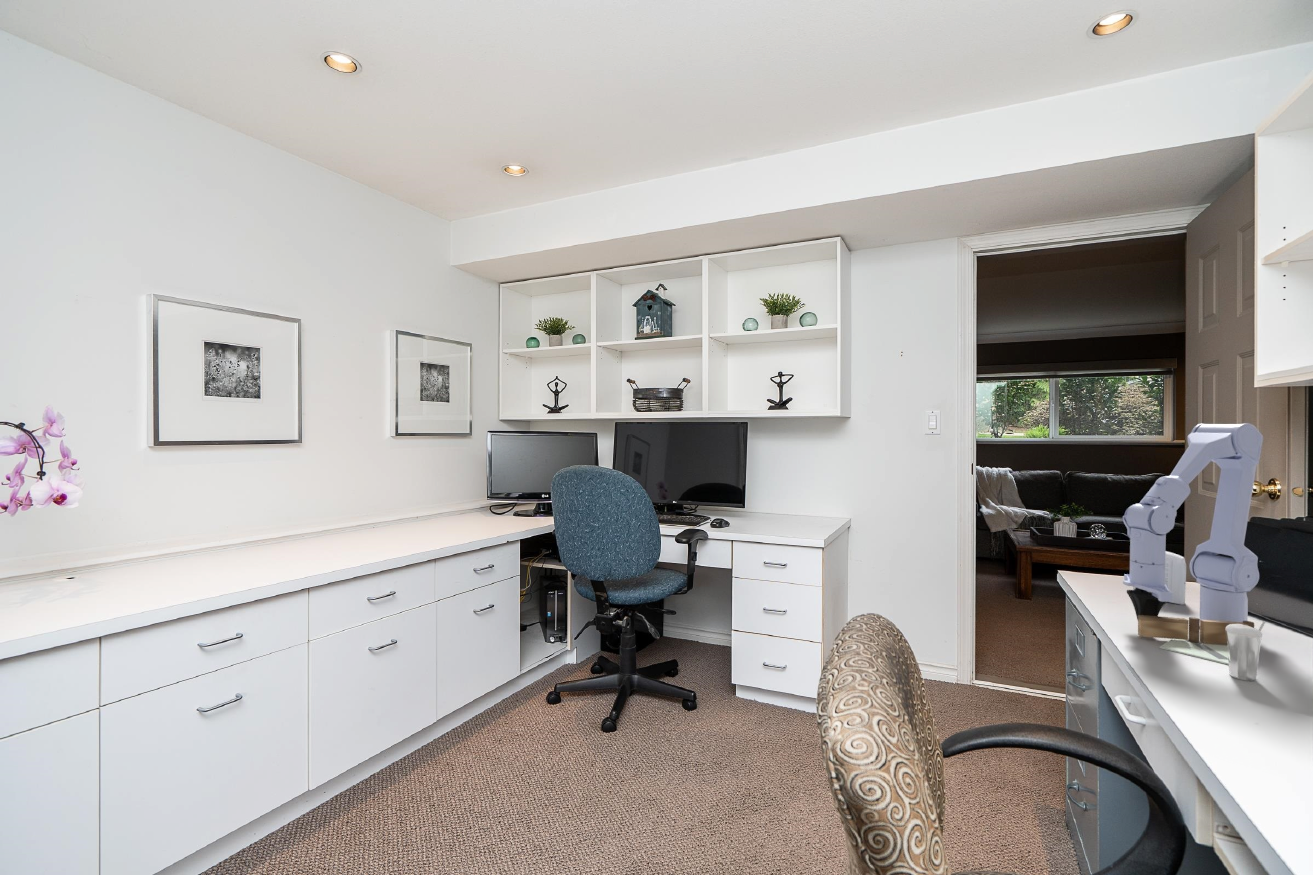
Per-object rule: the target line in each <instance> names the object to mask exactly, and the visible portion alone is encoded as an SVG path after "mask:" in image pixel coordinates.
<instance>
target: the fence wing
mask: <svg viewBox="0 0 1313 875" xmlns="http://www.w3.org/2000/svg"><path fill="white" fill-rule="evenodd" d="M1188 632H1189V619H1187V618H1185V617H1174V616H1160V615H1158V616H1145V615H1138V620H1137V635H1138V636H1140V637H1144V638H1145V637H1146V638H1158V639H1170V640H1171V639H1181V640H1188Z"/></svg>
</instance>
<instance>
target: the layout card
mask: <svg viewBox="0 0 1313 875" xmlns="http://www.w3.org/2000/svg"><path fill="white" fill-rule="evenodd" d="M1188 638H1189V631H1188ZM1159 649H1161V650H1162V649H1163V650H1167V651H1170V652H1175V653H1179V654H1182V655H1187V656H1191V657H1193V658H1194V657H1195V658H1199V659H1204V660H1207V661H1211V662H1214V663H1215V662H1216V663H1219V664H1224V665H1228V666H1229V662H1228V649H1227V645H1220V644H1207V643H1202V642H1200V633H1199V643H1193V642H1190V641H1188V640H1181V639H1170V640H1168V641H1166V642H1165V643H1163V644H1162V645H1160V646H1159Z"/></svg>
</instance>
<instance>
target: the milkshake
mask: <svg viewBox="0 0 1313 875" xmlns="http://www.w3.org/2000/svg"><path fill="white" fill-rule="evenodd" d="M1265 624H1266V621H1262V623H1261V625H1260V627H1259V628H1258V629H1257V628H1255V627H1254V628H1253V627H1250V626H1246V625H1242V624H1229V625H1228V626H1226V628H1225V630H1226V639H1227V649H1228V662H1229V665H1228V672H1229V675H1230V676H1231V677H1233V678H1235V679H1237V680H1242V681H1245V682H1255V681H1256V680H1257V675H1258V668H1259V658H1260V653H1261V652H1260V650H1261V643H1262V638H1263V633H1262V629H1263V628H1264V626H1265Z"/></svg>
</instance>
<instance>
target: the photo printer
mask: <svg viewBox="0 0 1313 875" xmlns="http://www.w3.org/2000/svg"><path fill="white" fill-rule="evenodd" d="M1186 582H1187V563H1186V559H1185V556H1182V555H1180V554H1176V553H1174V552H1171V551H1167V550H1166V551H1165V585H1166V586H1167V588H1168V589H1169V591H1170V592H1172V593H1173V598H1172V602H1170V603H1171V604H1177V605H1185V604H1186V588H1187V587H1186V585H1187V583H1186ZM1134 589H1136V587H1133V586H1132V590H1134Z"/></svg>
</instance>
